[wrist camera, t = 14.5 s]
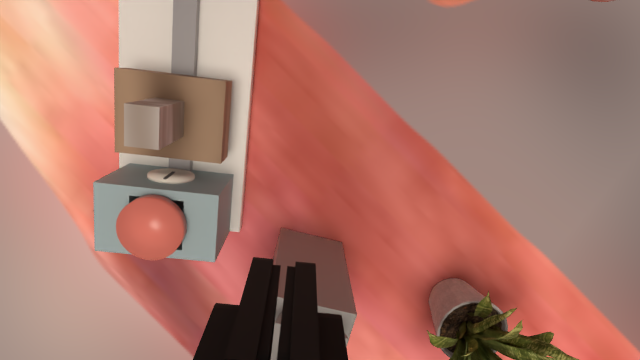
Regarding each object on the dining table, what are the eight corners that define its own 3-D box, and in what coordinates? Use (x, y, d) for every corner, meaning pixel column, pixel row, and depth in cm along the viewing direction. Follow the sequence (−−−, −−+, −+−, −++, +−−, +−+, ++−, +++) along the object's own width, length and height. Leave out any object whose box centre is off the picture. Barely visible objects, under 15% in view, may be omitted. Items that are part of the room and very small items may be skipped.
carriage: (232, 80, 36) (209, 83, 28) (227, 156, 38) (204, 182, 30) (129, 68, 36) (73, 67, 27) (129, 145, 38) (76, 168, 29)
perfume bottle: (281, 227, 43) (264, 332, 26) (341, 242, 44) (365, 354, 27) (266, 282, 45) (241, 416, 28) (325, 296, 46) (336, 435, 28)
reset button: (194, 191, 35) (183, 202, 32) (191, 247, 36) (181, 263, 33) (131, 185, 34) (115, 195, 31) (131, 241, 36) (115, 256, 33)
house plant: (451, 380, 49) (520, 527, 33) (361, 323, 47) (390, 452, 31) (533, 294, 46) (651, 410, 31) (442, 228, 44) (519, 317, 28)
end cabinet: (233, 170, 40) (219, 190, 33) (229, 231, 42) (214, 262, 35) (129, 159, 39) (93, 177, 33) (129, 220, 41) (94, 250, 34)
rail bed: (265, -81, 36) (260, -102, 31) (241, 226, 43) (234, 244, 39) (126, -102, 35) (100, -127, 31) (125, 214, 42) (105, 231, 38)
